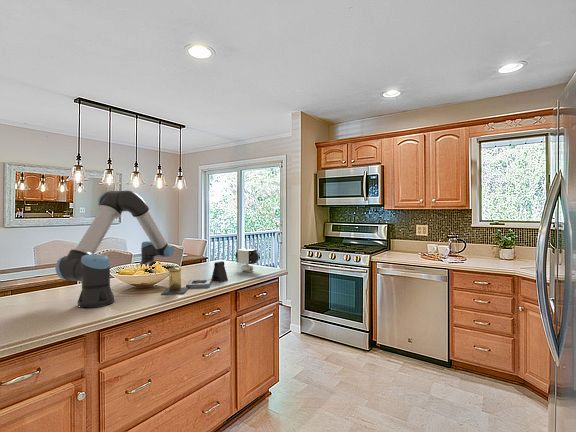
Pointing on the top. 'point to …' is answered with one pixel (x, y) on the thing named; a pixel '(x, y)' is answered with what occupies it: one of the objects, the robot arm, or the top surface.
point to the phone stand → (219, 272)
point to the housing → (199, 283)
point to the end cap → (175, 279)
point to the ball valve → (247, 258)
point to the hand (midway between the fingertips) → (167, 272)
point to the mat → (182, 291)
